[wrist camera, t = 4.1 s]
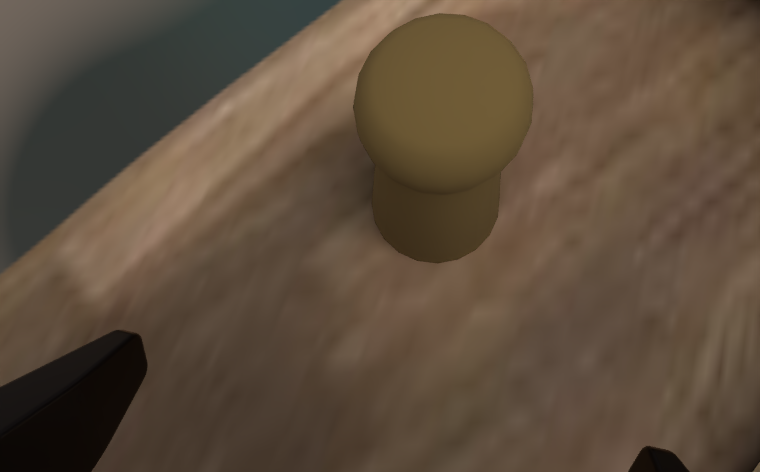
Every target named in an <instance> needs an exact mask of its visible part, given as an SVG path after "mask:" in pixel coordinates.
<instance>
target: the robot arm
mask: <svg viewBox="0 0 760 472" xmlns="http://www.w3.org/2000/svg"><path fill="white" fill-rule="evenodd" d="M146 372H147V359H146V355H145V351H144V346H143V342H142V338H141V336H140V335H139V334H137V333H134V332H130V331H125V330H115V331H113V332H110V333H108V334H106V335H104V336H102V337H100V338H98V339H96V340H94V341H92V342H90V343H88V344H86V345H84V346H82V347H80V348H78V349H76V350H74V351H72V352H70V353H68V354H66V355H64V356H62V357H60V358H58V359H56V360H54V361H52V362H50V363H48V364H46V365H44V366H42V367H40V368H38V369H36V370H34V371H32V372H30V373H28V374H26V375H24V376H22V377H20V378H18V379H16V380H14V381H12V382H10V383H8V384H6V385H4V386H2V387H0V472H91V471H92V470H93V468H94V467H95V465H96V464H97V462H98V461H99V459H100V458H101V456H102V454H103V453H104V451H105V450H106V448H107V446H108V444H109V443H110V441H111V439H112V437H113V435H114V434H115V432H116V430H117V428H118V426H119V424H120V422H121V420H122V419H123V417H124V415H125V413H126V411H127V409H128V407H129V406H130V404H131V402H132V400H133V398H134V396H135V394H136V392H137V391H138V389H139V387H140V385H141V383H142V381H143V379H144V377H145V375H146ZM628 472H689V470H688V469H687V468H686V467H685V466H684V464H683V463H682V462H681V461H680V459H679V458H678V457H677V456H676V455H675V454H674V453H673V452H671V451H669V450H665V449H660V448H656V447H651V446H646V447H644V448H642V450H641V451H640V453H639V454H638V456H637V458H636V459H635V461H634V463H633V464H632V466H631V468H630V469H629V471H628Z"/></svg>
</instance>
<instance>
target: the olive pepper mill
mask: <svg viewBox="0 0 760 472" xmlns="http://www.w3.org/2000/svg"><path fill="white" fill-rule="evenodd" d="M532 108H533V86H532V83H531V79H530V76H529V72H528V69H527V65H526V62H525V61H524V59H523V58H522V57H521V55H520V54H519V52H518V51H517V50H516V48H515V47H514V45H513V44H512V42H511V41H510V40H509V39H507V38H506V37H505V36H504V35H502V34H501V33H500V32H498V31H497V30H496V29H494V28H493V27H492V26H490V25H489V24H487V23H485V22H482V21H480V20H477V19H474V18H471V17H468V16H465V15H456V14H440V13H439V14H435V15H430V16H425V17H420V18H416V19H414V20H412V21H410V22H408V23H406V24H404V25H402V26H400V27H398V28H397V29H395V30H393V31H392V32H391V33H389V34H388V35H387V36H386V37H385V38H384V39H383V40H382V41H381V42H380V43H379V44H378V45H377V46H376V47H375V48H374V49H373V50H372V51H371V52H370V54H369V56H368V58H367V60H366V62H365V63H364V65H363V67H362V69H361V71H360V73H359V76H358V81H357V87H356V93H355V99H354V105H353V109H354V115H355V120H356V126H357V131H358V135H359V138H360V141H361V142H362V144H363V146H364V148H365V149H366V151H367V153H368V155H369V156H370V158H371V160H372V162H373V163H374V164H375V172H374V183H373V194H372V208H373V213H374V219H375V223H376V225H377V226H378V228H379V230H380V232H381V234H382V235H383V237H384V239H385V240H386V241H387V242H388V243H389V244H391V245H392V246H393V247H394V248H395V249H396V250H397V251H398V252H399V253H402V254H404V255H406V256H408V257H410V258H413V259H415V260H417V261H424V262H432V263H441V262H447V261H452V260H457V259H460V258H461V257H463V256H465V255H467V254H469V253H471V252H472V251H474V250H476V249H477V248H478V247H479V246H480V245H481V244H482V243H483V241H484V240H485V239H486V238H487V237H488V236H489V235H490V233H491V231H492V228H493V226H494V224H495V222H496V220H497V217H498V207H499V195H500V176H501V171H502V170H503V169H504V168H505V167H506V166H507V164H508V163H509V162H510V161H511V160H512V159H513V158H514V157H515V156H516V155H517V153H518V151H519V149H520V147H521V145H522V142H523V140H524V138H525V136H526V134H527V131H528V129H529V127H530V125H531V121H532Z"/></svg>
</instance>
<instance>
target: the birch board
mask: <svg viewBox="0 0 760 472" xmlns="http://www.w3.org/2000/svg"><path fill="white" fill-rule="evenodd" d="M753 472H760V462H759V464H758V465H757V467H756V468H755V469H754V471H753Z"/></svg>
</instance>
